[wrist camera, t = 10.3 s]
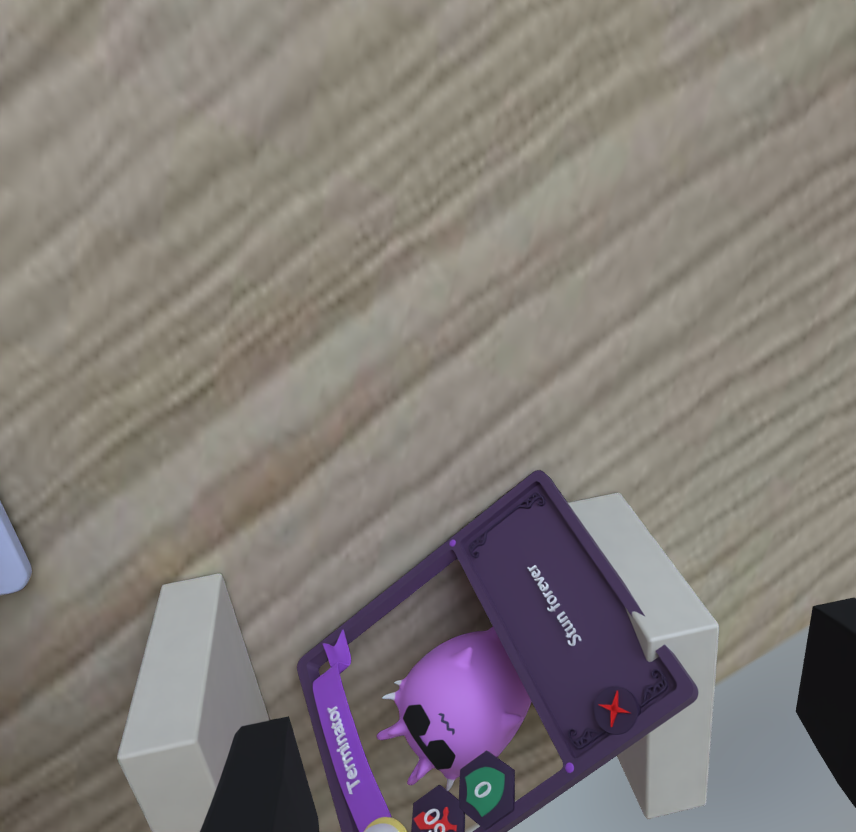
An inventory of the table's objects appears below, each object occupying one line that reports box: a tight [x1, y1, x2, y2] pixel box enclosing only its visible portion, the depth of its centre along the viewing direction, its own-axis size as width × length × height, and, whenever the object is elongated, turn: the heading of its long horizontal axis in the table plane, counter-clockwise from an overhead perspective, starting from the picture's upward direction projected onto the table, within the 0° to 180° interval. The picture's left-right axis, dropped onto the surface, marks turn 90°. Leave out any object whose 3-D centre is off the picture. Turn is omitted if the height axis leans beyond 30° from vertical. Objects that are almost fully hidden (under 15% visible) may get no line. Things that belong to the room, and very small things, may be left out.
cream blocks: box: [117, 493, 719, 832], centre depth 19 cm, size 13×6×5 cm, turn 97°
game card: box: [297, 470, 699, 832], centre depth 19 cm, size 7×5×9 cm
